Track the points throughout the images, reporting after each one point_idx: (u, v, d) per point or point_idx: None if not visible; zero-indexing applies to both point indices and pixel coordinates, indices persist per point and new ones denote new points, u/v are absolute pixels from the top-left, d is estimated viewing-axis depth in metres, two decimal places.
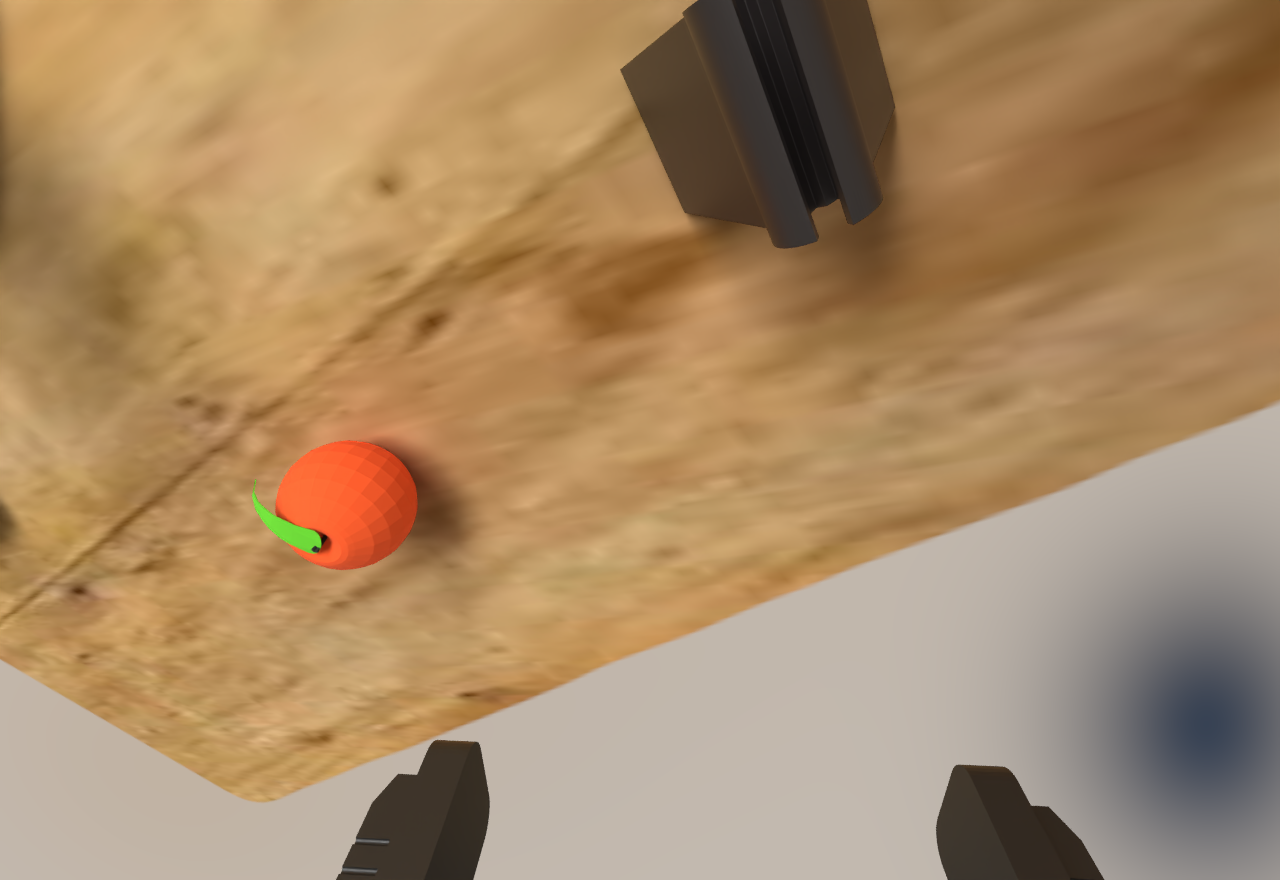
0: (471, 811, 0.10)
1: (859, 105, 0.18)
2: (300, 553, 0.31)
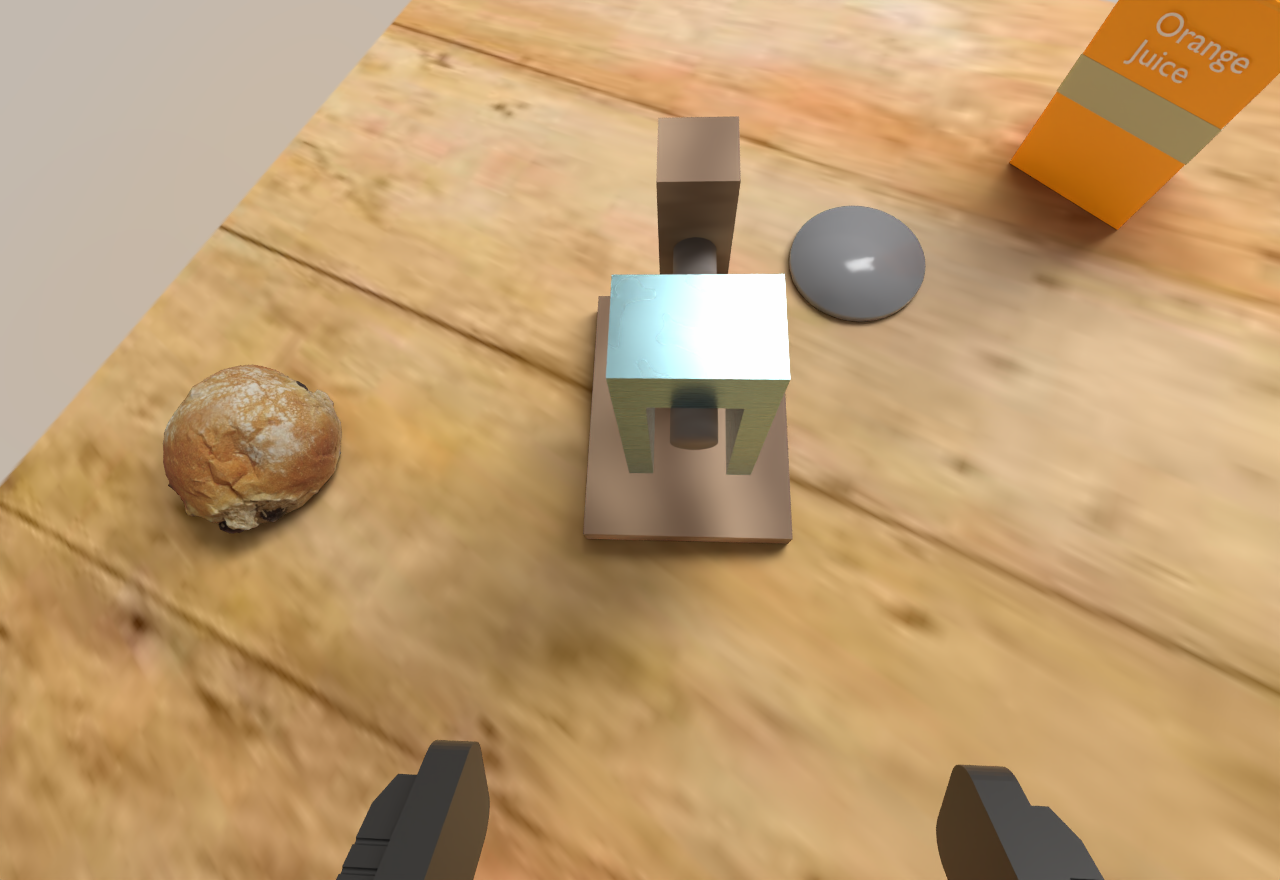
0: (471, 811, 0.10)
1: None
2: None
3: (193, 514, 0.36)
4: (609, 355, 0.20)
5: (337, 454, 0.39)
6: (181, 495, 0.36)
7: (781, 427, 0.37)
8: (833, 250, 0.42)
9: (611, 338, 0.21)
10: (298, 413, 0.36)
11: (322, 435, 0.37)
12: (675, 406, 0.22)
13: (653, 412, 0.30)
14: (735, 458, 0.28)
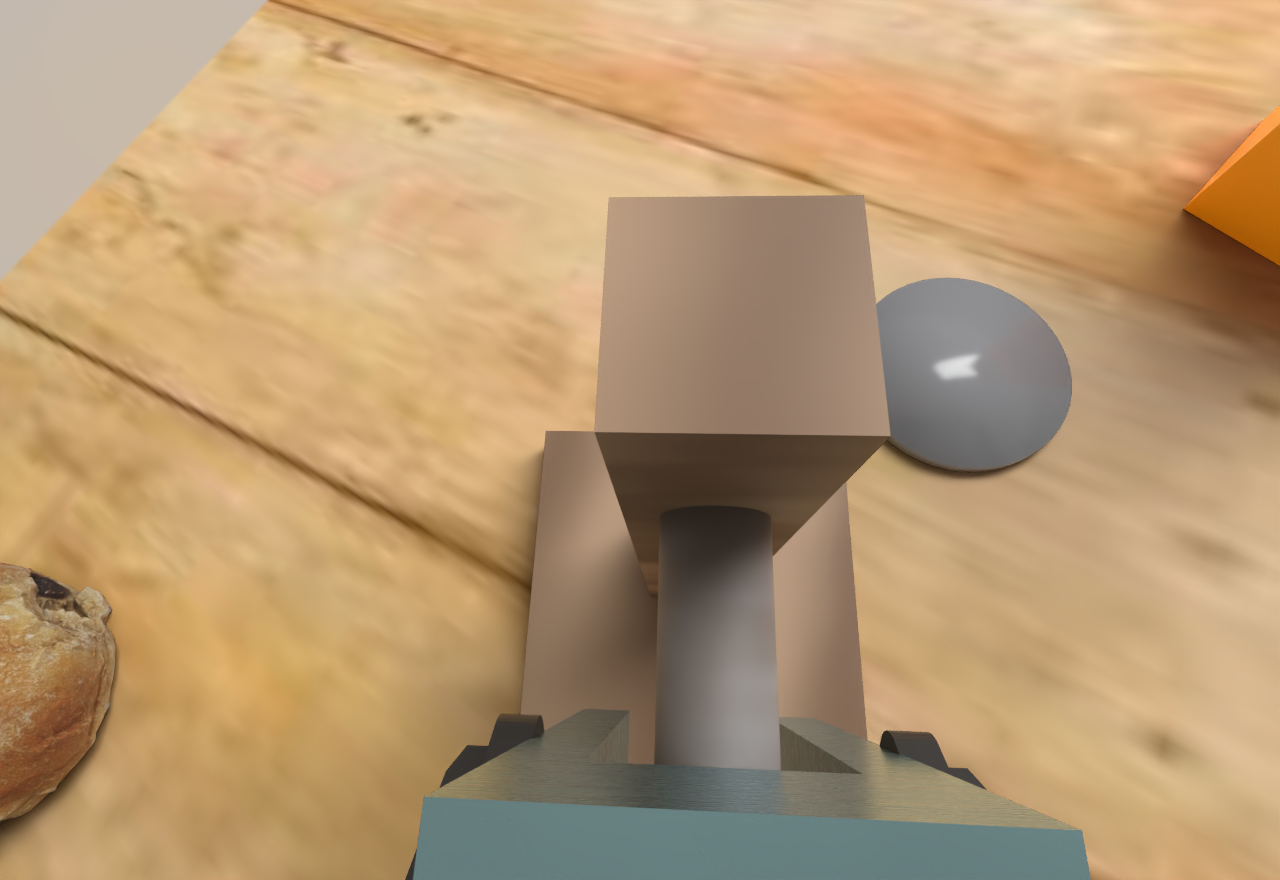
0: None
1: None
2: None
3: None
4: None
5: (101, 712, 0.23)
6: None
7: (853, 681, 0.21)
8: (922, 350, 0.27)
9: None
10: None
11: (53, 701, 0.21)
12: None
13: None
14: None
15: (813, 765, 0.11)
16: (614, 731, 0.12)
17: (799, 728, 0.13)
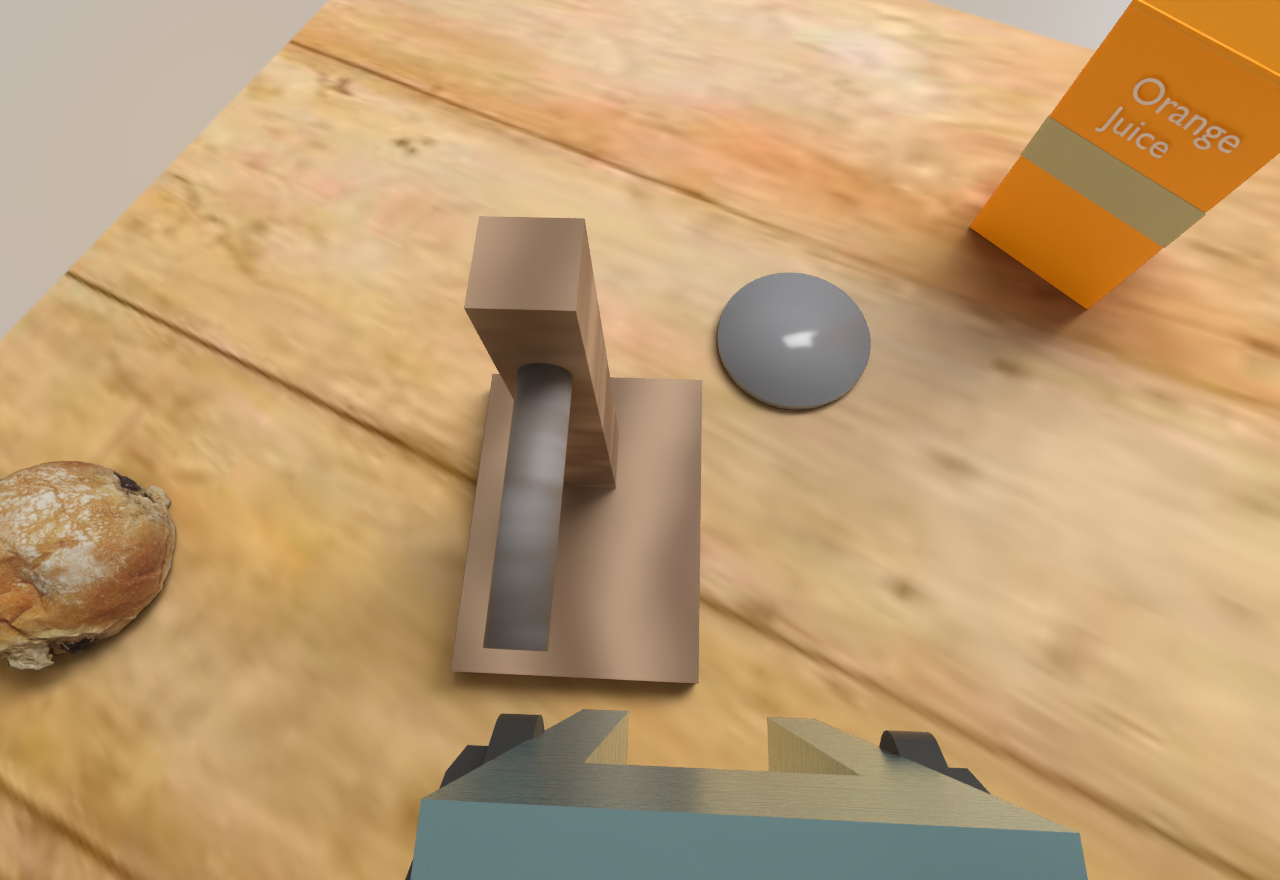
0: None
1: None
2: None
3: None
4: None
5: (166, 569, 0.33)
6: None
7: (693, 541, 0.32)
8: (767, 324, 0.37)
9: None
10: (104, 528, 0.30)
11: (139, 552, 0.31)
12: None
13: None
14: None
15: (812, 766, 0.11)
16: (613, 732, 0.12)
17: (798, 729, 0.13)
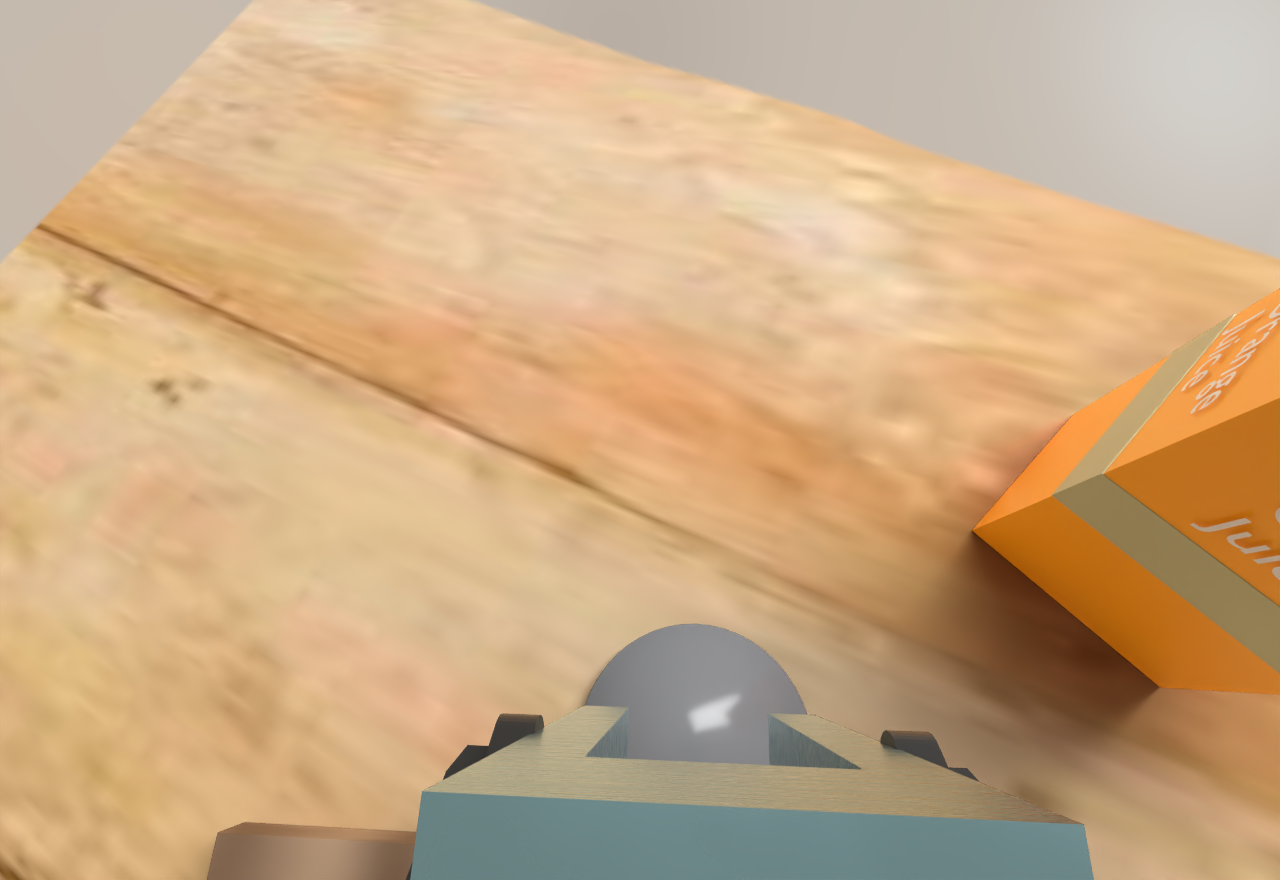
0: None
1: None
2: None
3: None
4: None
5: None
6: None
7: None
8: (655, 722, 0.24)
9: None
10: None
11: None
12: None
13: None
14: None
15: (813, 761, 0.11)
16: (613, 727, 0.12)
17: (799, 724, 0.13)
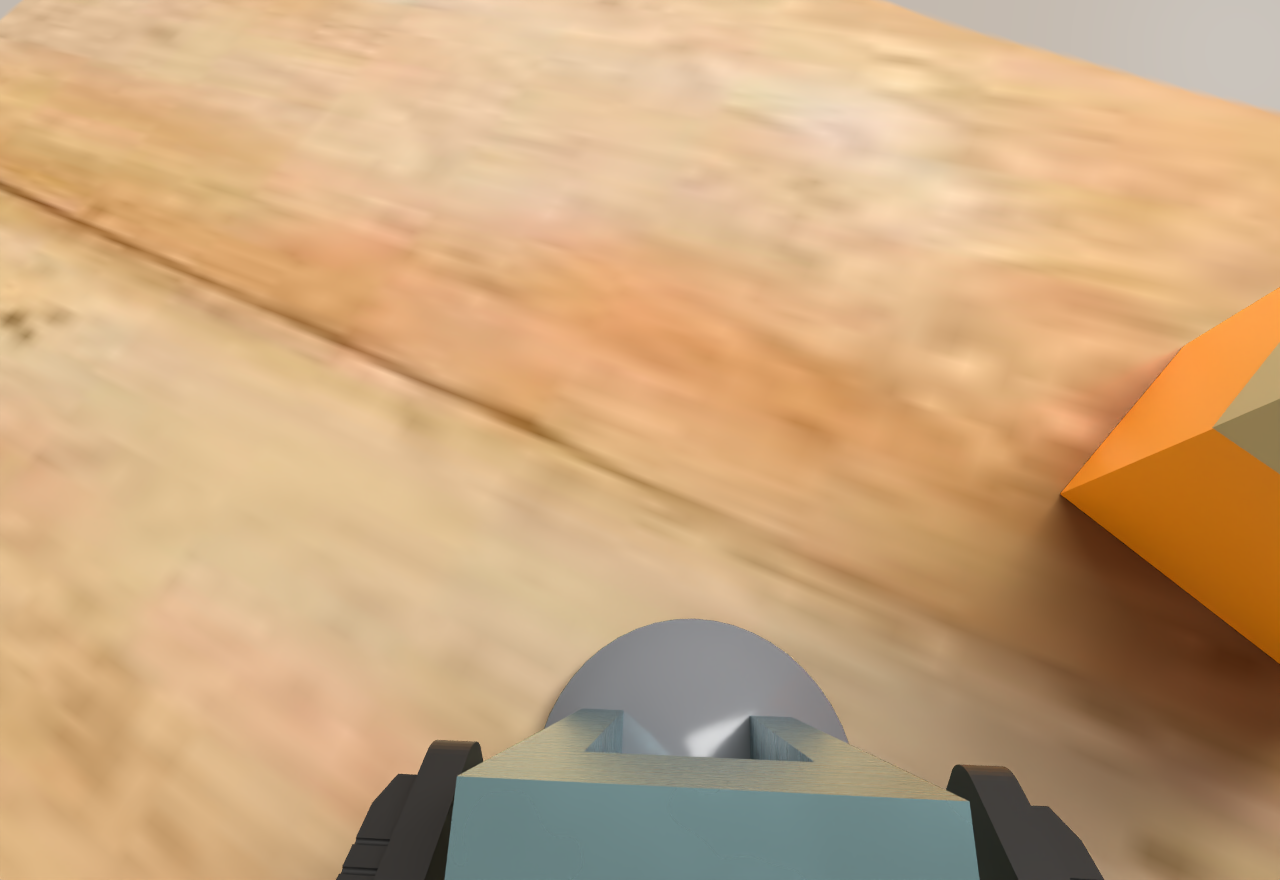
0: None
1: None
2: None
3: None
4: None
5: None
6: None
7: None
8: None
9: None
10: None
11: None
12: None
13: None
14: None
15: (782, 757, 0.12)
16: (609, 728, 0.14)
17: (774, 726, 0.15)
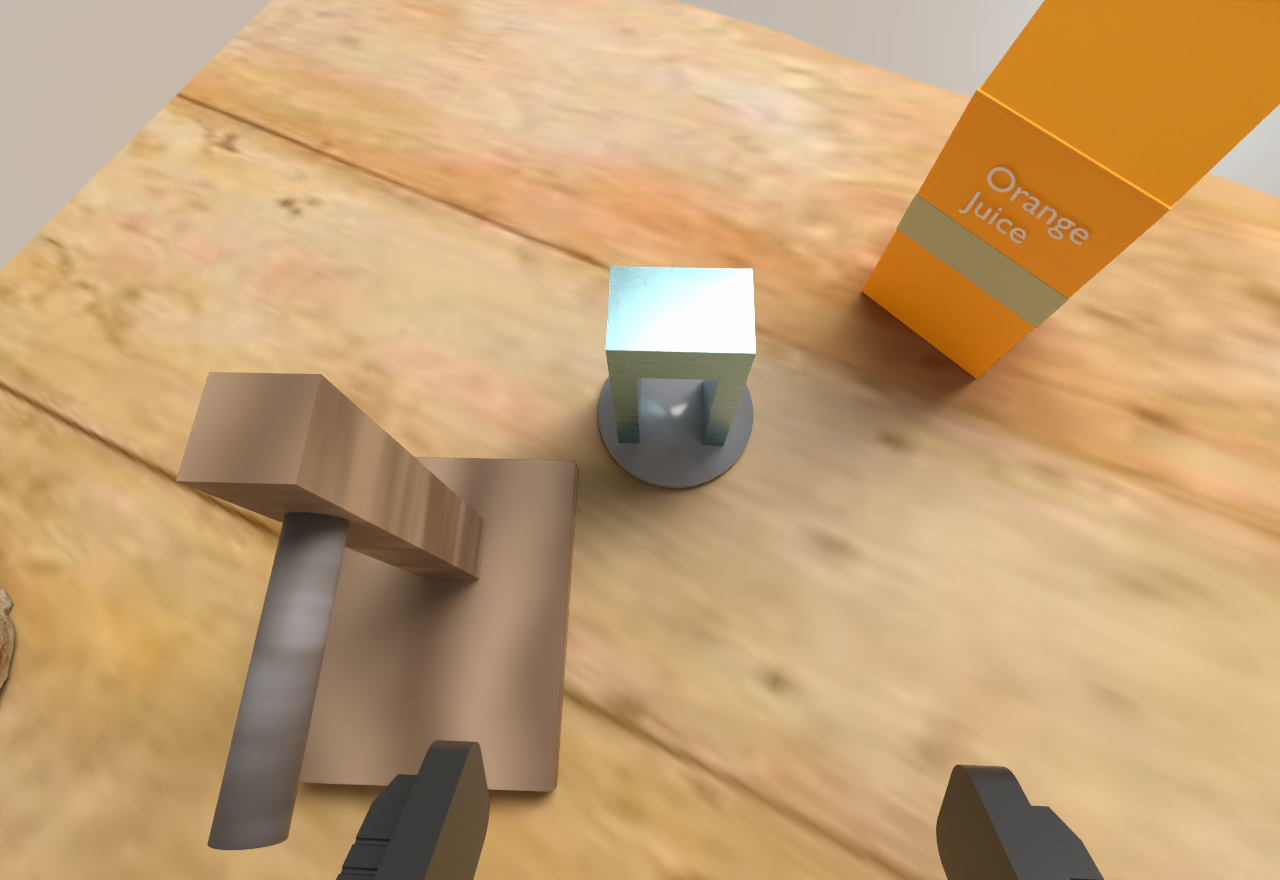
0: (471, 811, 0.10)
1: None
2: None
3: None
4: (608, 331, 0.25)
5: (0, 680, 0.31)
6: None
7: (556, 636, 0.30)
8: (649, 397, 0.36)
9: (610, 318, 0.25)
10: None
11: None
12: (661, 377, 0.27)
13: (640, 389, 0.34)
14: (711, 429, 0.32)
15: None
16: None
17: None
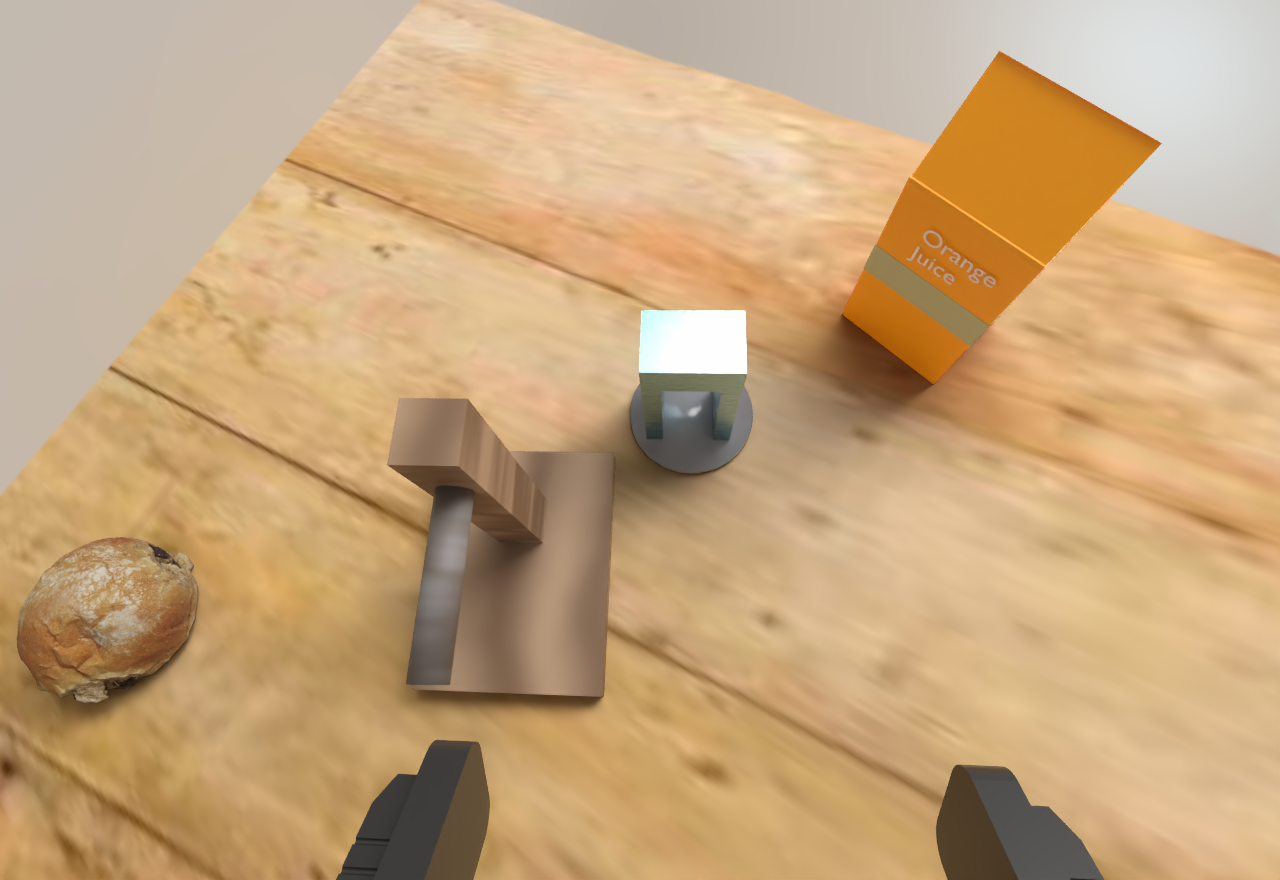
0: (471, 811, 0.10)
1: None
2: None
3: (45, 690, 0.39)
4: (640, 359, 0.35)
5: (191, 620, 0.42)
6: (33, 673, 0.38)
7: (602, 585, 0.40)
8: (670, 403, 0.46)
9: (641, 349, 0.35)
10: (144, 594, 0.39)
11: (170, 610, 0.40)
12: (679, 390, 0.36)
13: (663, 397, 0.44)
14: (718, 427, 0.42)
15: None
16: None
17: None
